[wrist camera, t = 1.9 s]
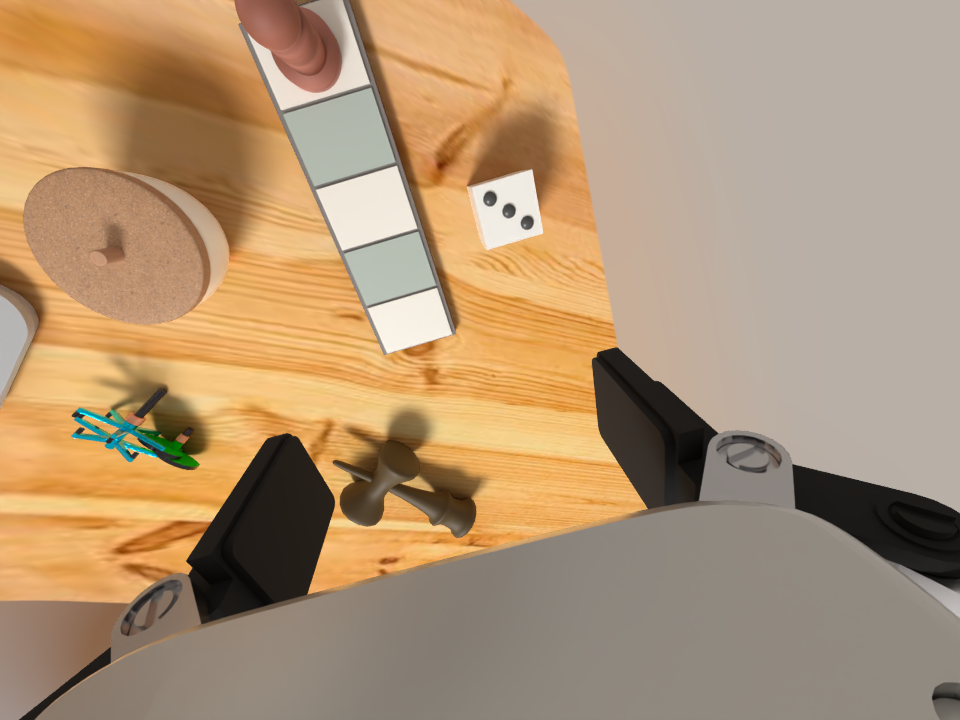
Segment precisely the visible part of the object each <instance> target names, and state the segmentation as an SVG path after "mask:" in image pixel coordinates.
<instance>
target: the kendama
mask: <svg viewBox="0 0 960 720" xmlns="http://www.w3.org/2000/svg"><path fill="white" fill-rule="evenodd" d="M333 464H334V465H335V466H337V467H339V468H341V469H343V470H345V471H347V472H349V473H351V474H353V475H355V476H357V477H360V478H362V479H364V481H359V482H354V483H351V484H349V485H348V486H346V487H345V488H344V489H343V491H342V493H341V495H340V507H341V509H342V512H343V514H344V515H345V516H346V517H347V518H348V519H349V520H351V521H352V522H354V523H356V524H358V525H362V526H367V527H368V526H373V525H376V524H377V523H378V522H379V521H380V520H381V518H382V515H383V512H384V497H385V495H386V493H387V492H388V491H389V492H391V493H393V494H395V495H396V496H398V497H400V498H402V499H403V500H405V501H407V502H408V503H410V504H412V505H413V506H415V507H416V508H418V509H419V510H421V511H422V512H424V513H425V514H426V515H427V516H428V517H429V521H430V523H431V524H432V525H433V526H435V525H439V524H442V525H444V526H446V527H448V528H449V529H451V532H452V534H453V535H454V536H455V537H456V538H460V537H463V536H464V535H465V534H467V533H468V532H469V531H470V529H471V528H472V526H473V524H474V522H475V518H476V505H475V503H474V501H473V500H472V499H471V498H466V499H463V500H458V499H455V498H453V497H451V494H450V492H448V491H447V490H445V491H442V492H440V493H435V492H429V491H425V490H421V489H417V488H413V487H410V486H406V485H403V484H400V483H403V482H406V481H410V480H412V479H414V478H415V477H416V476H417V475H418V473H419V469H420V465H419V460H418V458H417V457H416V455H415V453H414V452H413V451H412V450H411V449H410V448H408V447H407V446H405V445H404V444H402V443H399V442H396V441H387V442H385V443H384V444H382V446H381V448H380V451H379V456H378V466H377V468H376V470H375V472H374V473H370V472H368V471H365V470H363V469H360V468H358V467H355V466H353V465H350V464H347V463H345V462H342V461H338V460H334V461H333Z"/></svg>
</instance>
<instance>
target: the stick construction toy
mask: <svg viewBox="0 0 960 720" xmlns="http://www.w3.org/2000/svg"><path fill="white" fill-rule="evenodd" d="M166 393H167V391H165V390H163V389H161V388H159V389H158V390H157V391H156V392H155V393H154V394H153V395H152V396H151V397H150V399H149V400H148V401H147V402H146V403H145V404H144V405H143V406H142V407H141V408H140V409H139V410H138V411H137V412H136V413H133V412H132V413H130V414H129V415H128V416H127V417H126V418H125V419H124V418H123V417H122V416H121V415H120V414H119V413H118V412H117V411H116V410H114V409H112V410H111V411H110V412H109V413H108V414H107V415H106V416H102V415H100V414H97V413H94V412H92V411H89V410H86V409H84V408H79V409H78V410H77V411H76V412H74V413H73V414H72V417H74V418H75V419H74V420H75V421H76V422H78V423H80V424H81V425H83V426H85V427H87V428H88V429H90V430H92V431H93V432H95V433H97V434H98V435H92V434H83V433H82V432H83V431H84V430H85V429H84V428H79V429H78V430H77V431H76V432H75V433H74V434H73V435H72V437H73V438H78V439H85V440H92V441H99V442H106V444H105V447H106V448H108V449H114V448H115V447H116V449H117V450H118V451H119V452H120V453H121V454H122V455H123V457H124V458H125V459H126V460H127V461H128V462H132V461H133V460H134V459H135V458H136V457H137V456H138V454H139V453H137V452H134V453H133V454H132V455H131V454H130V452H129V451H128V449H127V448H129V449H132V450H135V451H138V452H141V453H144V454H147V455H150V456H153V457H156V458H157V457H159V458H160V459H161V460H163V461H164V462H166V463H168V464H170V465H173V466H175V467H178V468H182V469H186V470H195V469H197V467H198V466H199V465H200V464H199V463H198V462H197V461H196V460H195V459H193V458H192V457H190V456H189V455H187V454H185V453H183V452H182V448H181V446H182V445H183V444H184V443H185V442H186V441H187V440H188V439H189V435H190V434H191V433H192V432H193V431H194V430H193V429H192V428H189V427H188V428H187V429H186V430H185V432H184V433H181V434H180V435H179V436H178V437H177V438H176V439H175V440H174V441H173V442H171V441H169V440H166V439H164V438H161V437H158V436H159V435H160V434H161V432H159V431H156V430H151V429H146V428H141V427H138V426H140V425H141V424H142V423H143V422H144V421H145V420H146V418H144V416H145V415H146V414H147V413H148V412H149V411H150V410H151V409H152V408H153V407H154V406H155V405H156V404H157V403H158V401H159V400H160V399H161V398H162V397H163V396H164V395H165V394H166ZM85 415H87V416H89V417H92V418H95V419H97V420H100V421H102V422H105V423H107V424H110V425H113V426H115V427H118V428H119V429H118V430H117V431H116V432H115V433H113V434H112V435H111V434H110V433H108V432H106V431H104V430H102V429H101V428H99V427H97V426H95V425H93V424H91V423H90V422H88V421H86V420H84V419H82V418H83V417H84V416H85ZM111 416H113V417H114V418H115V420H113V419H110V417H111ZM129 433H130V434H132V435H134V436H136V437H138V438H137V439H138V440H139V442H140V443H142V444H143V445H144V446H145V447H147V448H148V449H150V450H148V449H146V448H143V447H140V446H138V445H135V444H132V443H130V442H127V441H124V440H123V439H124V438H125V437H126V436H127V435H128V434H129ZM143 433H144V434H143ZM150 434H151V435H150ZM151 450H152V451H151Z"/></svg>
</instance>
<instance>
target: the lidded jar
mask: <svg viewBox="0 0 960 720" xmlns="http://www.w3.org/2000/svg"><path fill="white" fill-rule="evenodd" d="M23 222H24V230H25V234H26V238H27V242H28V244H29V246H30V248H31V251H32V253H33V255H34V256H35V258H36V260H37V262H38V263H39V265H40V266H41V268H42V269H43V270H44V271H45V273H46V274H47V275H48V276H49V277H50V278H51V280H52V281H53V282H54V283H55V284H56V285H57V286H58V287H59V288H60V289H62V290H63V291H64V292H65V293H67V294H68V295H69V296H70V297H72V298H73V299H75V300H76V301H78V302H79V303H80V304H82V305H83V306H85V307H87V308H89V309H91V310H93V311H95V312H97V313H99V314H102V315H104V316H107V317H109V318H112V319H116V320H119V321H123V322H128V323H134V324H147V325H150V324H161V323H165V322H169V321H172V320H175V319H177V318H179V317H181V316H183V315H185V314H187V313H188V312H190V311H191V310H192V309H194V308H195V307H196V306H198V305H199V304H201V303H202V302H204V301H205V300H207V299H208V298H209V297H210V296H211V295H212V294H213V293H214V292H215V291H216V290H217V289H218V288H219V286H220V285H221V284H222V282H223V280H224V279H225V277H226V274H227V271H228V267H229V260H230V253H229V246H228V242H227V239H226V236H225V233H224V231H223V230H222V228H221V226H220V224H219V223H218V221H217V220H216V218H215V217H214V216H213V214H212V213H211V212H210V211H209V210H208V209H207V208H206V207H205V206H204V205H203V204H202V203H201V202H199V201H198V200H197V199H196V198H194V197H193V196H191V195H190V194H188V193H187V192H185V191H184V190H182V189H180V188H178V187H176V186H174V185H172V184H170V183H167V182H165V181H162V180H159V179H156V178H154V177H150V176H146V175H142V174H137V173H132V172H123V171H113V170H109V169H101V168H91V167H78V168H67V169H63V170H59V171H56V172H53V173H51V174H49V175H47V176H45V177H44V178H43V179H41V180H40V181H39V182H38V183H37V184H36V185H35V186H34V187H33V189H32V190H31V191H30V193H29V195H28V198H27V200H26V203H25V207H24V213H23Z"/></svg>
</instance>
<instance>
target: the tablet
mask: <svg viewBox="0 0 960 720" xmlns="http://www.w3.org/2000/svg"><path fill="white" fill-rule="evenodd" d="M38 324H39V320H38V316H37V313H36V311H35V310H34V308H33V307H32V305H31V304H30V303H29V302H28V301H27V300H26V299H25V298H23V297H22V296H21V295H19V294H18V293H16V292H14V291H13V290H11V289H9V288H7V287H5V286H3V285H1V284H0V408H1V406H2V404H3V402H4V400H5V398H6V396H7V393H8V391H9V389H10V387H11V385H12V383H13V380H14V378H15V376H16V374H17V372H18V369H19V367H20V365H21V363H22V361H23V359H24V356H25V354H26V352H27V350H28V348H29V346H30V343H31V341H32V339H33V337H34V334H35V332H36V330H37V328H38Z"/></svg>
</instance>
